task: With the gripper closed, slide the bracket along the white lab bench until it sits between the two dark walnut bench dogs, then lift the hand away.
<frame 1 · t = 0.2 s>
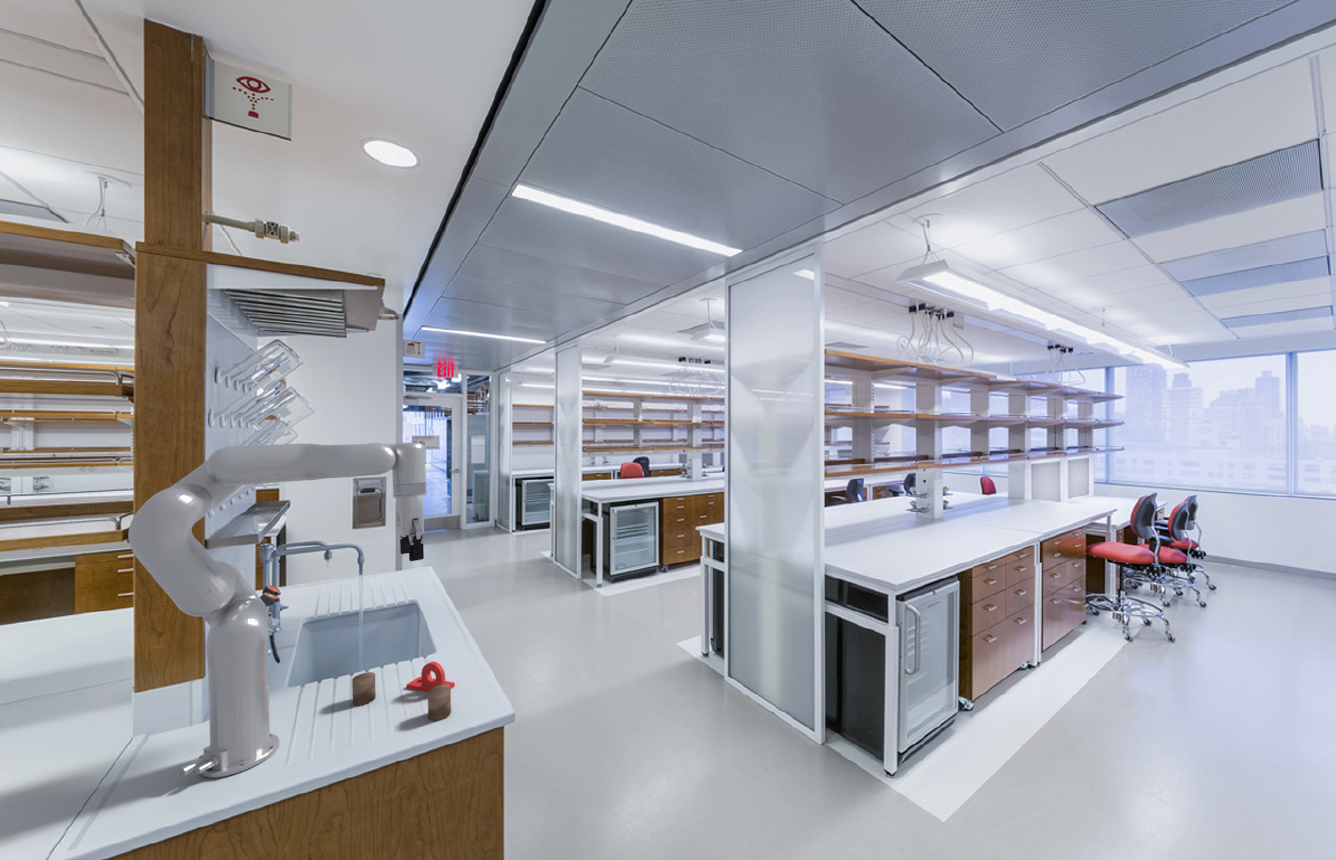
hand: (411, 556, 123), 37 cm above the worktop, tool pointing down, fingers open, 9 cm apart
bracket: (430, 688, 129), on the worktop
bench dogs: (400, 707, 119), on the worktop
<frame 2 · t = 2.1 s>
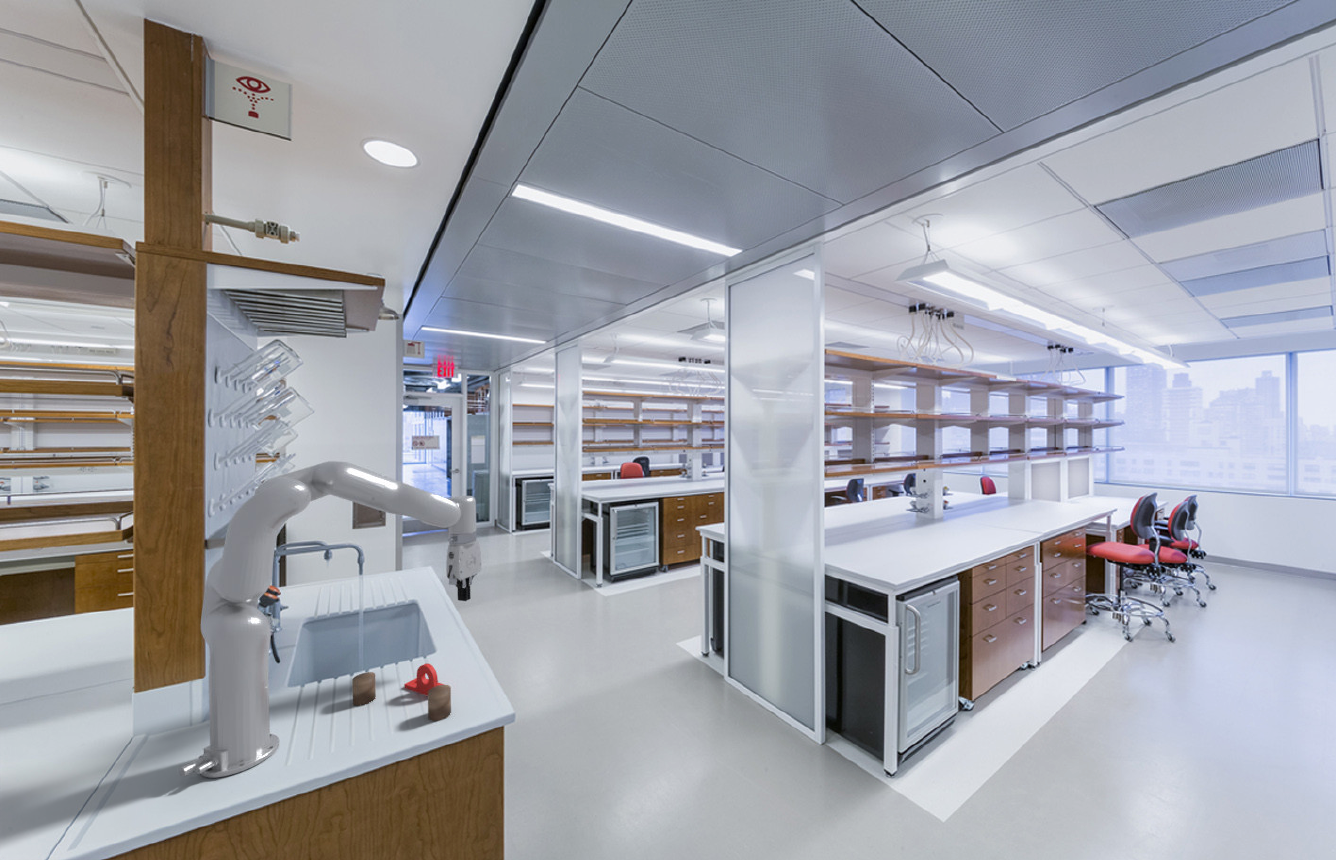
hand: (464, 599, 141), 19 cm above the worktop, tool pointing down, fingers closed
bracket: (426, 690, 128), on the worktop
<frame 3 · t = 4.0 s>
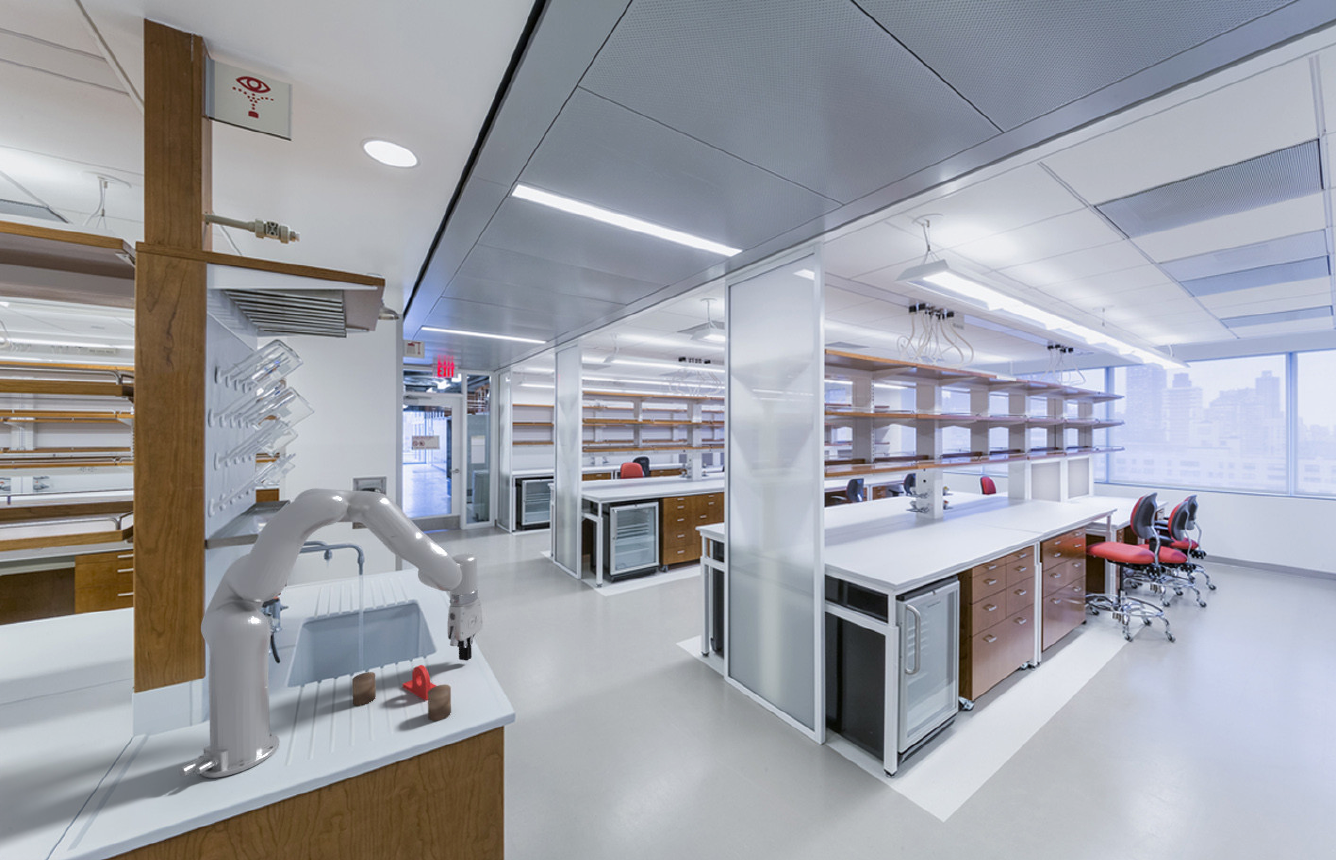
hand: (465, 658, 141), 2 cm above the worktop, tool pointing down, fingers closed
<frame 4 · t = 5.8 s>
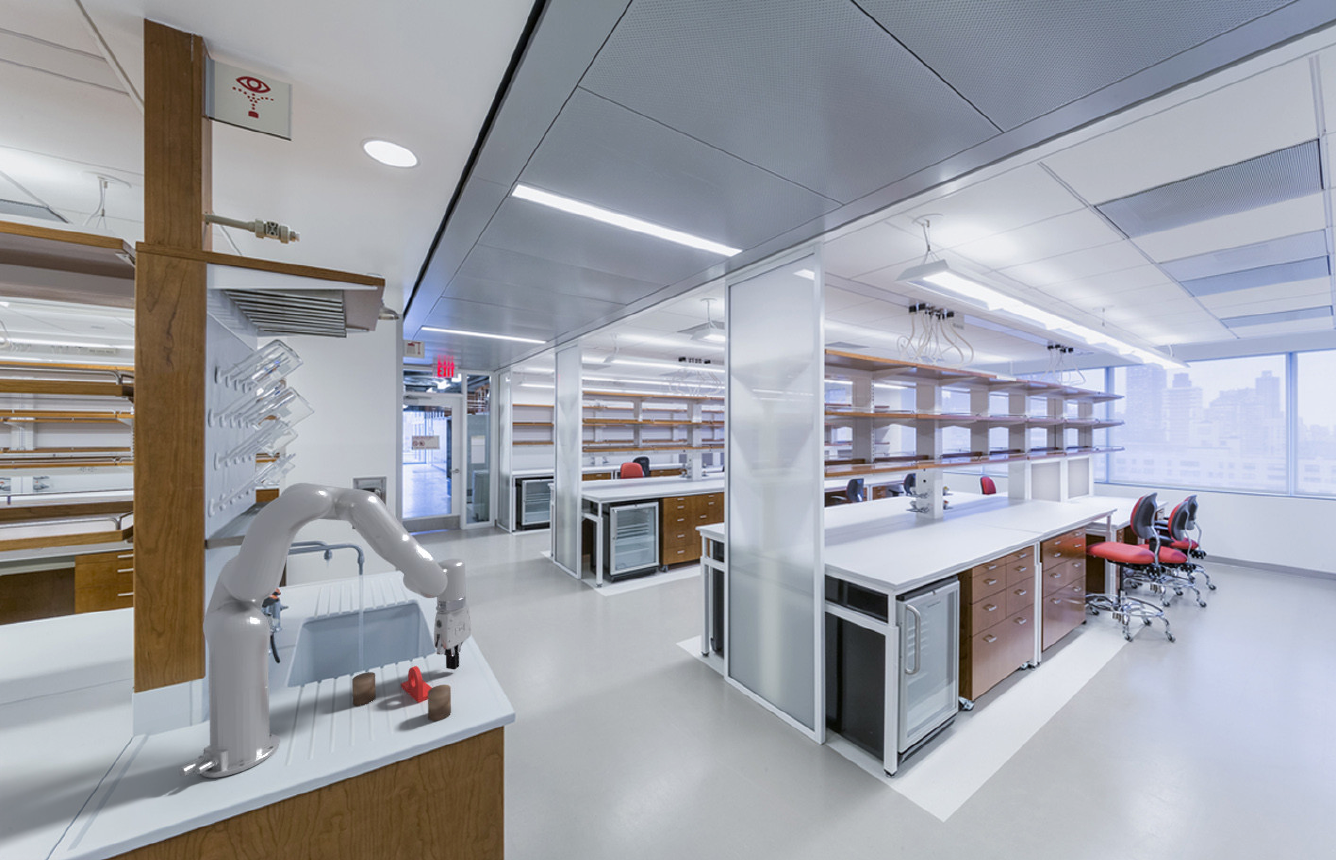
hand: (452, 667, 136), 1 cm above the worktop, tool pointing down, fingers closed
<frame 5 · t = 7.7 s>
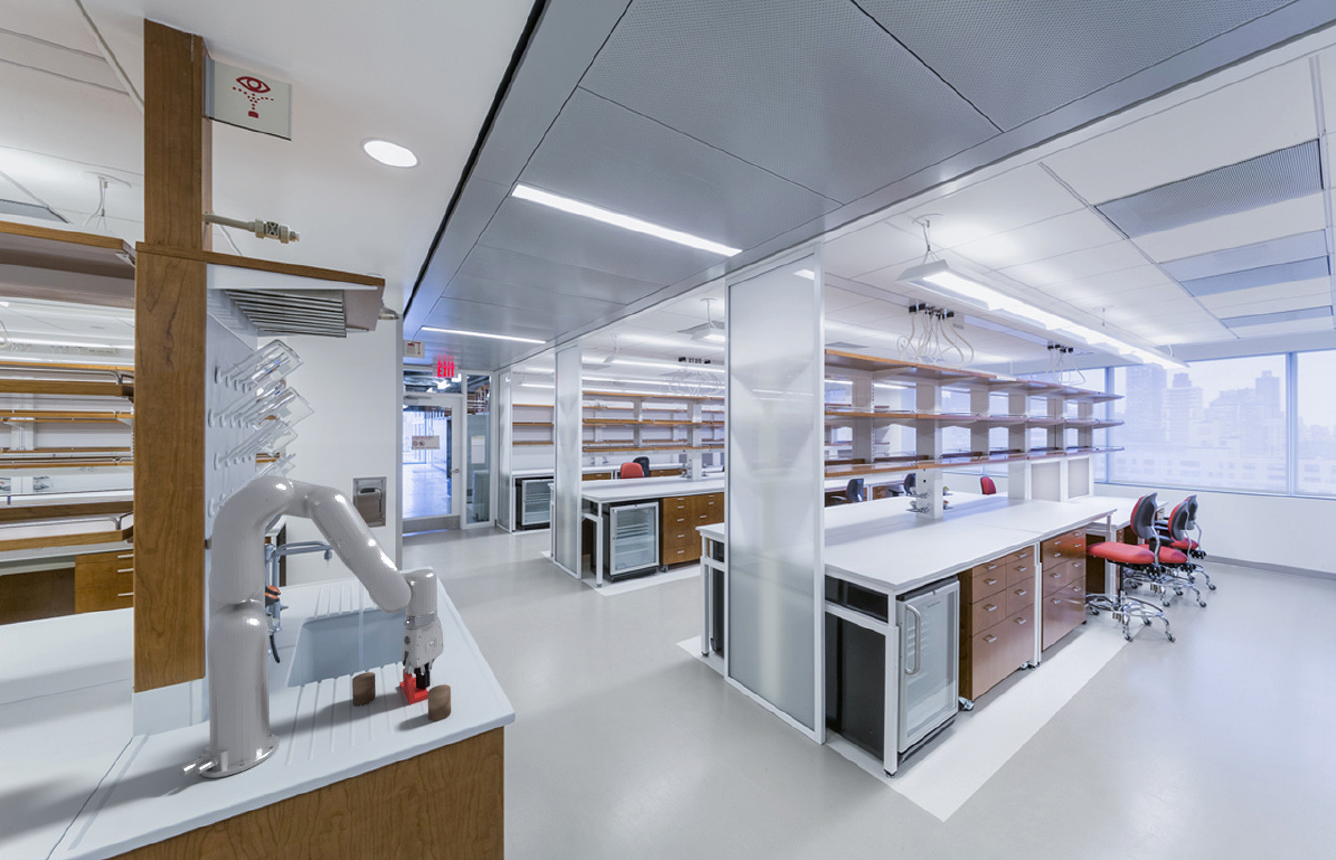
hand: (423, 687, 126), 1 cm above the worktop, tool pointing down, fingers closed
bracket: (414, 692, 126), on the worktop, touching gripper
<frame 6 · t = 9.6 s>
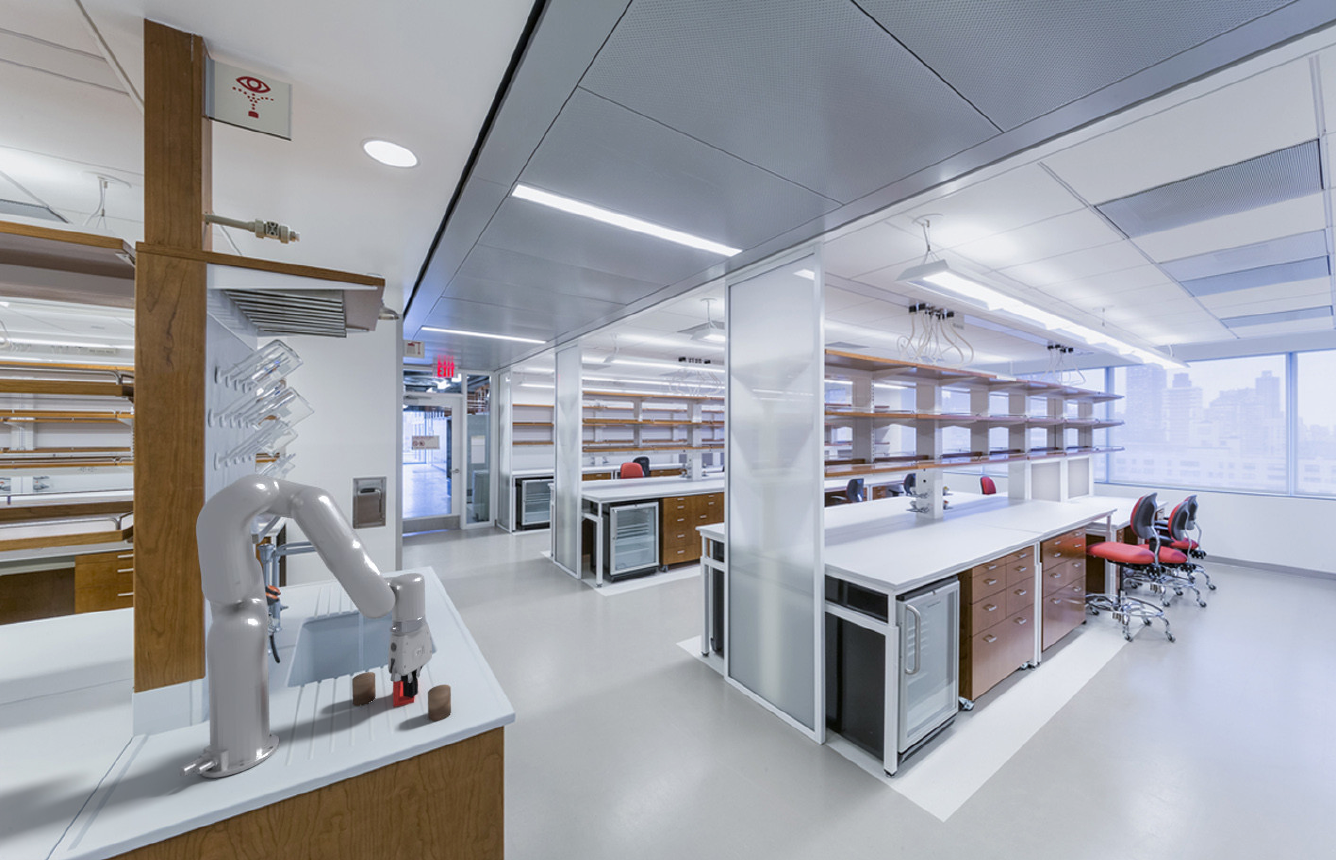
hand: (410, 695, 122), 2 cm above the worktop, tool pointing down, fingers closed
bracket: (406, 694, 126), on the worktop
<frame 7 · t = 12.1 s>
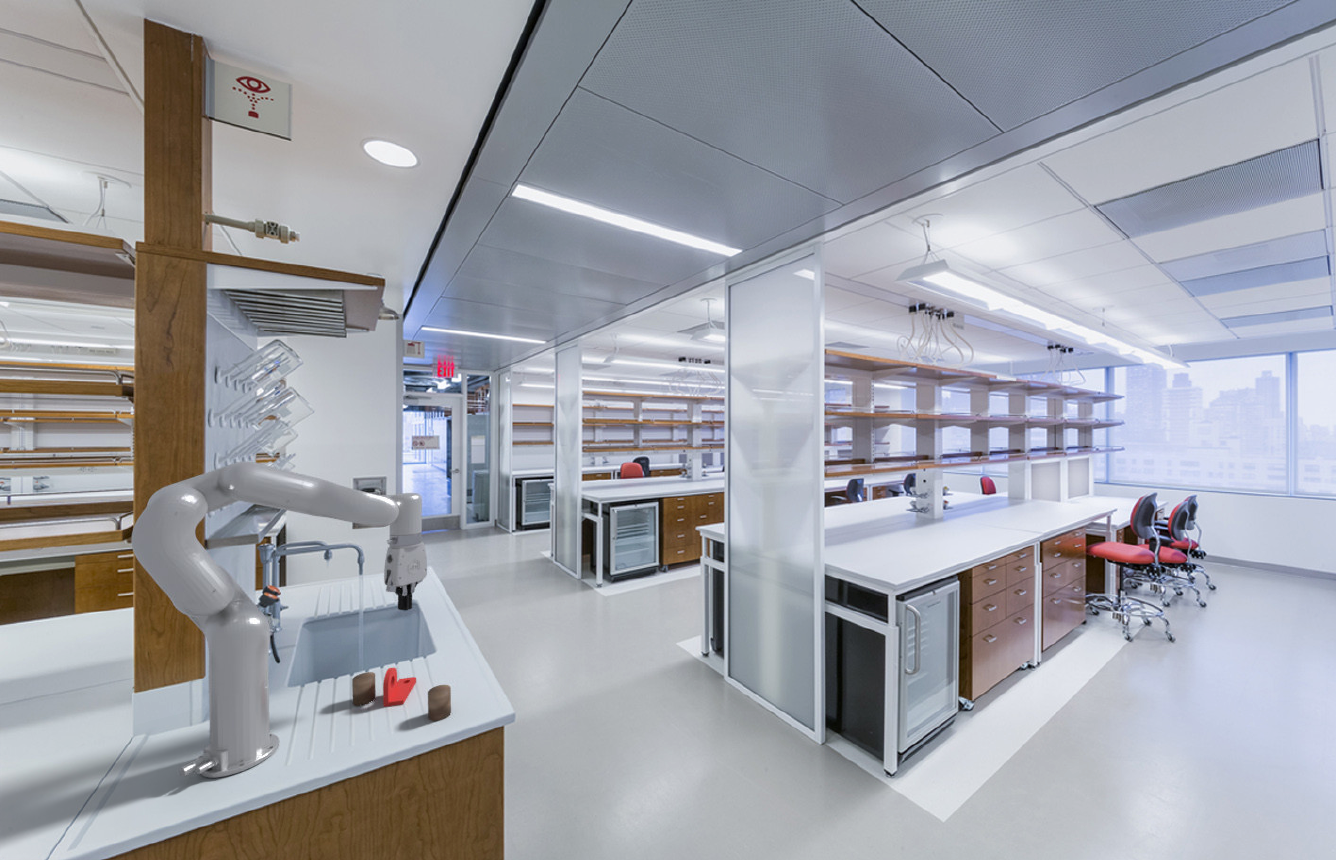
hand: (405, 609, 127), 22 cm above the worktop, tool pointing down, fingers closed
bracket: (401, 694, 126), on the worktop
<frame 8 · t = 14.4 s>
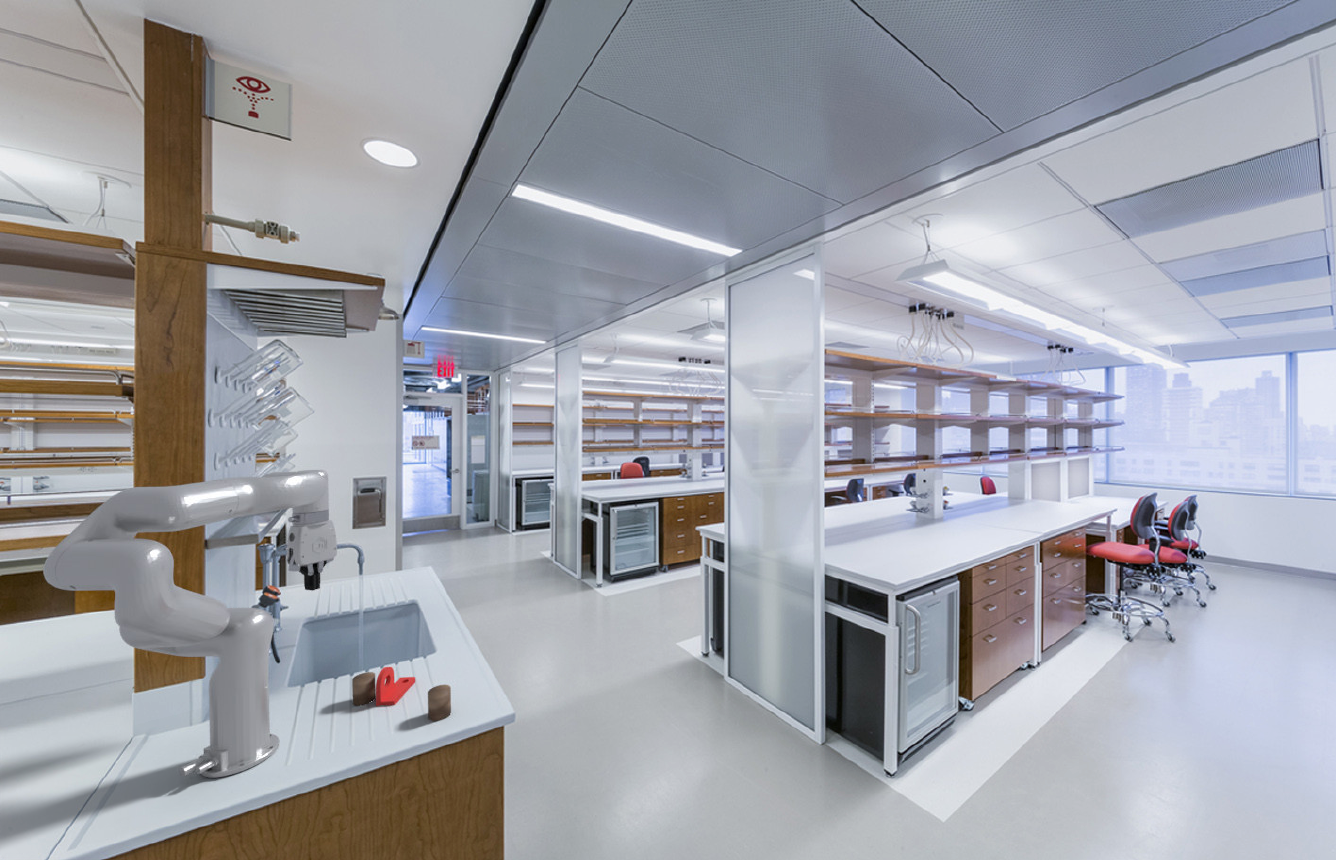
hand: (312, 589, 123), 29 cm above the worktop, tool pointing down, fingers closed
bracket: (397, 693, 126), on the worktop
at the end: bracket inside the target area (9.6 cm from its centre), on the worktop; bracket tilted 0°; bracket moved 8.3 cm from its start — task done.
